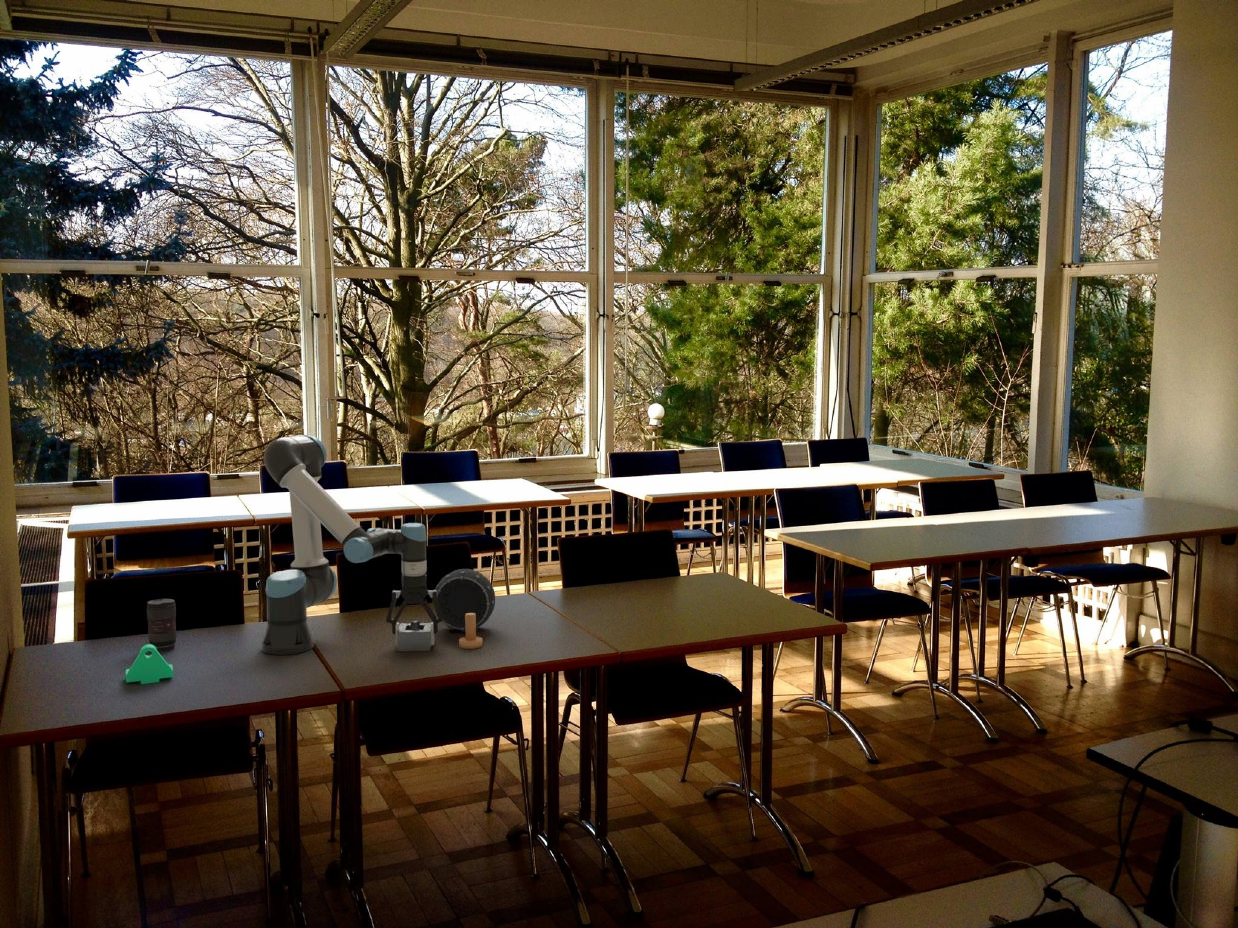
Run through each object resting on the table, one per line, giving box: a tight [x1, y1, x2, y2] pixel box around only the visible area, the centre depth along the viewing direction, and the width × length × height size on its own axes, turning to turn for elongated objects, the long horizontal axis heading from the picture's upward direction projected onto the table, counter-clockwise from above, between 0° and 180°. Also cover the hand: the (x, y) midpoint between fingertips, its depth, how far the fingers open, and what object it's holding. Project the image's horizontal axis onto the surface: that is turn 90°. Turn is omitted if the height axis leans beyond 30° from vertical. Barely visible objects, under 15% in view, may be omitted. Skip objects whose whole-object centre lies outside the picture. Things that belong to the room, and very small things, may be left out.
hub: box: [458, 613, 483, 650], centre depth 331 cm, size 7×7×10 cm
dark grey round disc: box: [432, 568, 496, 633], centre depth 349 cm, size 11×20×20 cm, turn 89°
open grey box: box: [396, 622, 433, 652], centre depth 330 cm, size 10×10×6 cm
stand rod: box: [410, 619, 421, 630], centre depth 329 cm, size 3×3×8 cm
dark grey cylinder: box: [146, 598, 177, 653], centre depth 326 cm, size 8×8×15 cm
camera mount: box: [125, 643, 174, 685], centre depth 297 cm, size 12×8×10 cm, turn 115°
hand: (415, 643), depth 330 cm, fingers closed on open grey box, 10 cm apart
